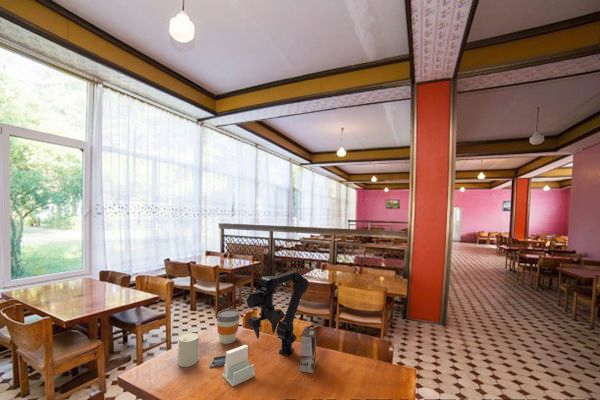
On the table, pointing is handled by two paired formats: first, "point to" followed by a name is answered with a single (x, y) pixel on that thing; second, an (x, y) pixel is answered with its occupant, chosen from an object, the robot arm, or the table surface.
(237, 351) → the white block
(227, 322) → the reusable coffee cup
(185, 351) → the can
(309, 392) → the table surface
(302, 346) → the coffee box
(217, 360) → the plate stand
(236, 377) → the dish rack
